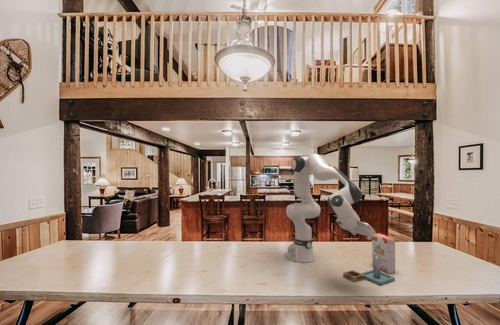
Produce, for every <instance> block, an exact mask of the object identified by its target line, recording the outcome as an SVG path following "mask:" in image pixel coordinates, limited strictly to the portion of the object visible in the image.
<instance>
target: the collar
mask: <svg viewBox="0 0 500 325" xmlns="http://www.w3.org/2000/svg"><path fill="white" fill-rule="evenodd" d="M361 273H362V272H358V271H356V270H353V269H352V270H348V271H345V272H343V276H342V277H343V278H345V279H347V280H349V281H351V282H353V283H357V282H360V281H363V280H365V279H364V275H363V274H361Z"/></svg>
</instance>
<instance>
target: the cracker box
mask: <svg viewBox="0 0 500 325" xmlns="http://www.w3.org/2000/svg"><path fill="white" fill-rule="evenodd" d="M371 244H372V245H371V252H372V254H371V258H372V260H371V263H372V264H371V265H372V266H373V256H374V255H377V256H380V271H381V272H382V273H385V274H388V275H390V274H396V239H395V238H393V237H390V236H387V235H385V234H382V233H380V232H379V233H377V232H375V235H374V236H373V237H371Z"/></svg>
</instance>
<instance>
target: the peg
mask: <svg viewBox="0 0 500 325" xmlns="http://www.w3.org/2000/svg"><path fill="white" fill-rule="evenodd" d="M372 266H373V267H372V270H373V277H374V278H376V279H380V272H381V270H380V256H377V255H374V256H373V265H372Z"/></svg>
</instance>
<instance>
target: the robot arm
mask: <svg viewBox="0 0 500 325" xmlns="http://www.w3.org/2000/svg"><path fill="white" fill-rule="evenodd" d="M290 168H291V170H292V171H293V191H294V192H293V193H294V195H295V196H296V197H297V198H299V199H300V201H301V202H294V203H290V204H288V205H287V207H286V209H285V214H286V216H287V217H288V218H289V219H290V221H292V222H293V226H294V231H295V237H294V238H292V240H294V241H293V242H292V243H291V244H289V245H288V247H287V251H286V252H284V253H283V255H284V256H286V257H287V258H288V259H289V260H290V261H292V262H298V263H312V262H313V261H314V260H315V255H314V249H313V248H314V246H313V238H312V237H313V235H312V233H313V232H312V227H311V225H310V224H308V223H306V219H313V218H317V217H320V214H321V210H322V209H321V207H320V205H319V203H317V202H316V200H314V198H313V196H312V193H311V183H310V182H311V181H310V175H312V176H313V178H314V179H315V180H318V181H321V182H324V181H330V180H339V181H340V182H341V184H343V185H344V187H342V188H341V189H339V190H338V191H335V192H334V193H332V194H330V195H328V198H327V205H328V206H329V208H330V209H331V211H332V213H334V214H335V215H336V216H337V218H336V219H335V222H336V223H337V224H338V225H339V227H340V228H341V229H343V230H345V231H348V232H350V234H352V235H353V236H356V235H357V234H359V235H362V236H366V239H367V240H368V241H369V240H370V241H372V237H373V236H374V235H375V233H376V231H375V229H374V228H373V227H372V226H371V225H370V224H369V223H367V222H364V221H361V218H360V216H359V215H358V213H357V212H356V210H354V208H353V207H352V204H354V203H357V202H360V201H361V200H362V197H363V192H362V190H361V188H360V187H359V186H358V185H356V184H355V183H354V182H353V181H352V180H350V179H349V178H348V177H347V175H346V174H344V173H343V172H342V170H340V169H339V168H337V166H330V165H328V163H327V162H326V161H325V159H324V158H323V157H322V156H321V155H320V154H318V153H311V154H310V155H306V156H303V155H302V156H295V157H293V158H292V160H291V162H290Z"/></svg>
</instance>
